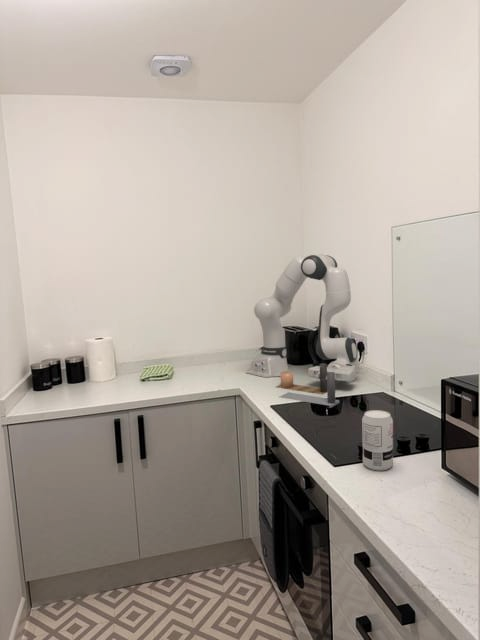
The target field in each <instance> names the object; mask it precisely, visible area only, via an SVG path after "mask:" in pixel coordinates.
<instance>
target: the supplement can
mask: <svg viewBox="0 0 480 640" xmlns="http://www.w3.org/2000/svg"><path fill="white" fill-rule="evenodd" d="M361 423H362V424H361V425H362V426H361V427H362V430H361V431H362V432H361V433H362V434H361V437H362V439H361V440H362V441H361V442H362V463H363V465H364V466H365V467H366V468H367V469H370V470H372V471H377V472H379V471H381V472H382V471H388V470H389V469H391V468H392V467H393V465H394V419H393V418H392V415H391V413H390V412H388V411H385V410H378V409H374V410H373V409H371V410H367V411H365V412H364V414H363V416H362V419H361Z"/></svg>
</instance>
